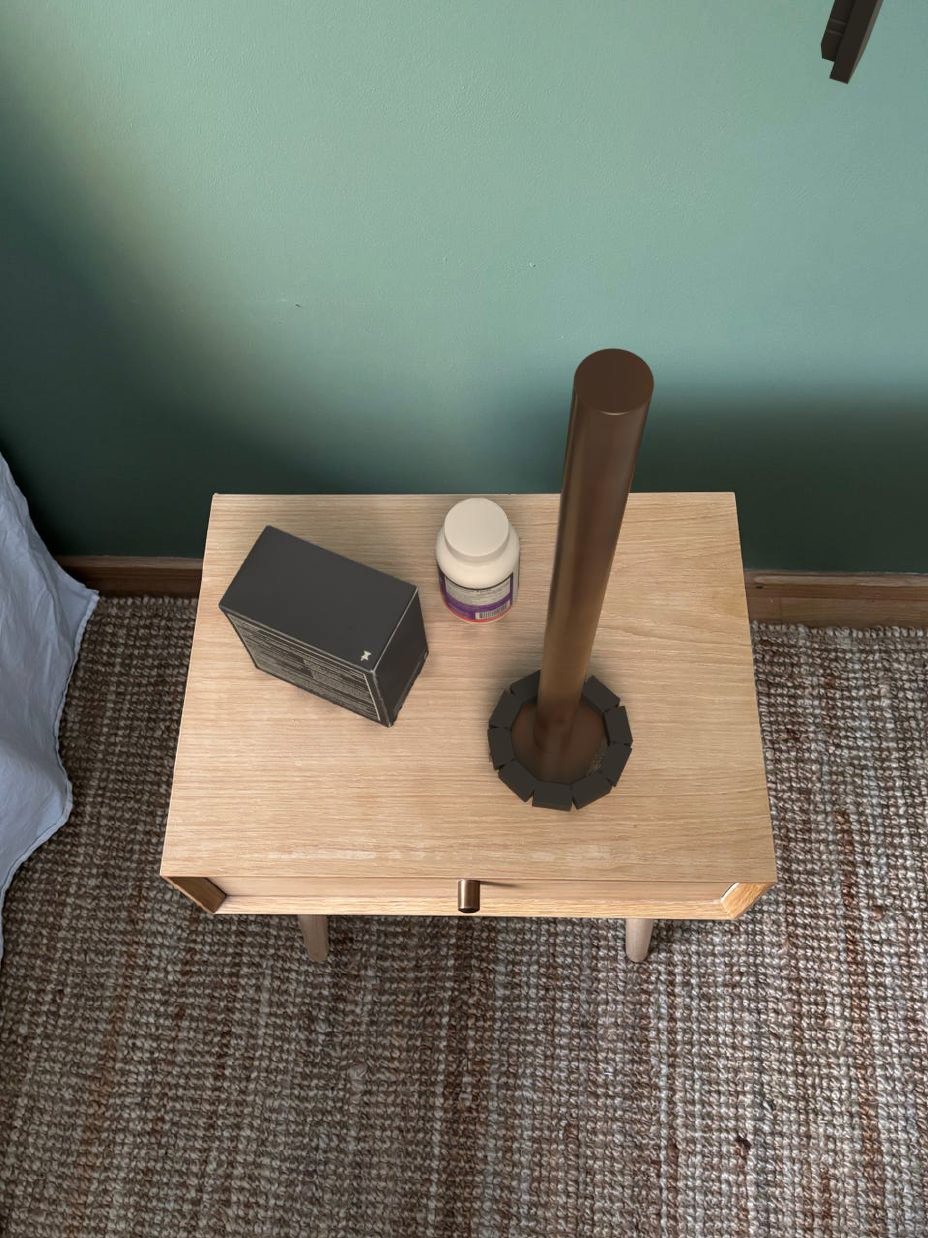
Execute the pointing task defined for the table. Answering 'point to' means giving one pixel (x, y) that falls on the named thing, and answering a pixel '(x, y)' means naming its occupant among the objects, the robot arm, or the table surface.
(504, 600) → the pill bottle
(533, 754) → the brown upright dowel
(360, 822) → the table surface
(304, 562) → the small box
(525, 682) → the ring
